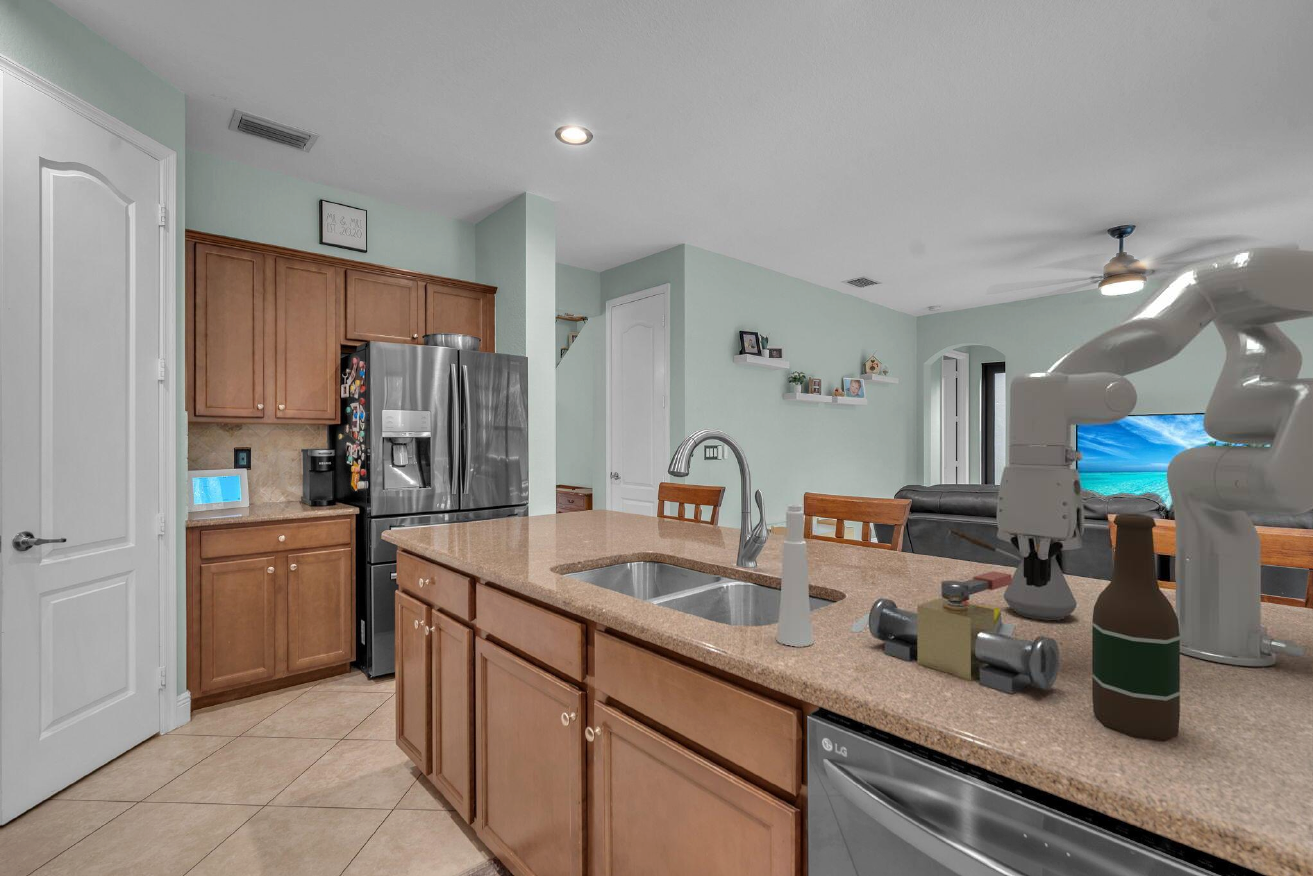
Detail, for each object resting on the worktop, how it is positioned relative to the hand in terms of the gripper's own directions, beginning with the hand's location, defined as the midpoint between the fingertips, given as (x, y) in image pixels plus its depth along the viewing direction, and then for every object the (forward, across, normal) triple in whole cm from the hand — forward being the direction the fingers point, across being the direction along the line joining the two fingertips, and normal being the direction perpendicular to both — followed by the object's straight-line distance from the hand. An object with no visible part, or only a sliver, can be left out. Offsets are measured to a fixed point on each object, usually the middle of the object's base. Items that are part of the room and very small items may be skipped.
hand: (1036, 584), depth 86 cm
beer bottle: (+12, -14, +11) cm, 22 cm away
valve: (+12, +7, +10) cm, 17 cm away
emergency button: (+12, +16, -11) cm, 23 cm away
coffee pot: (+12, +15, -26) cm, 32 cm away
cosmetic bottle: (+12, +28, +20) cm, 36 cm away
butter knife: (+12, +30, -4) cm, 33 cm away
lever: (+2, +7, +4) cm, 8 cm away
